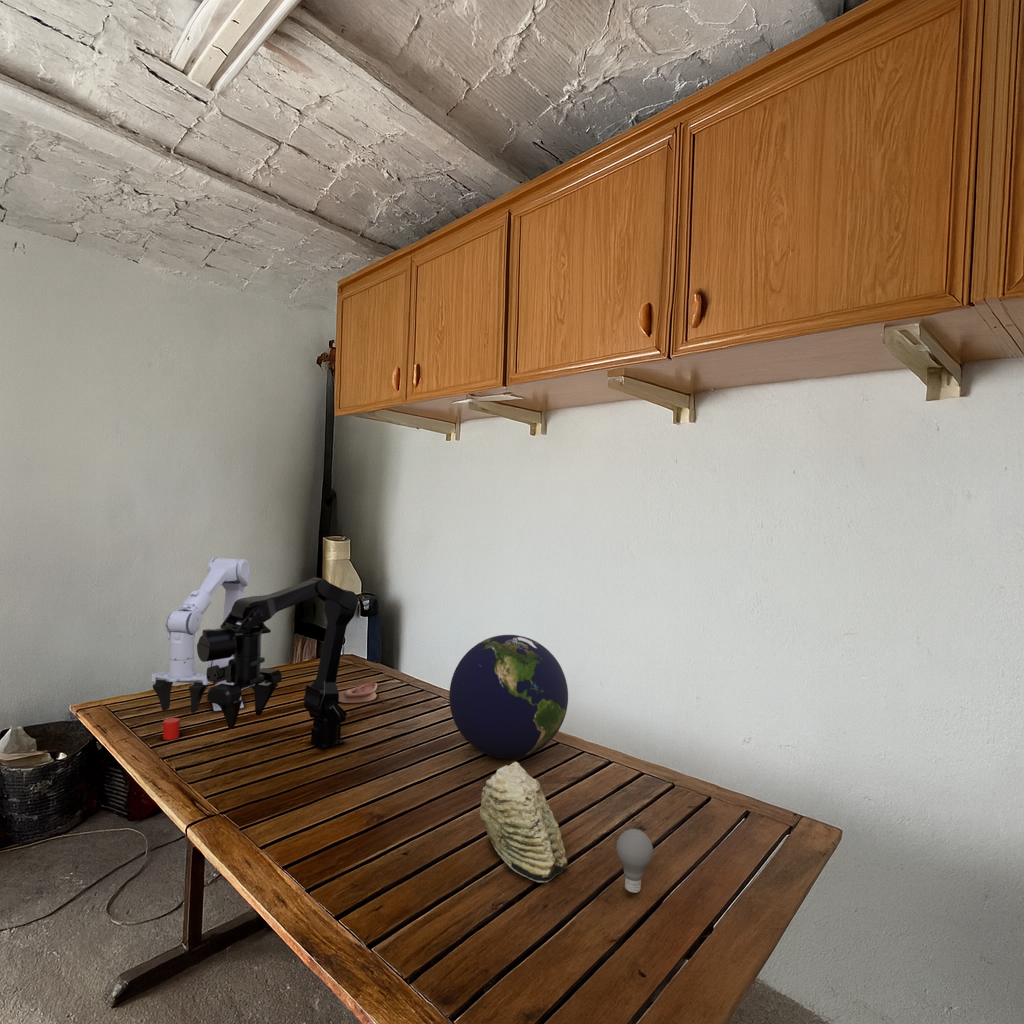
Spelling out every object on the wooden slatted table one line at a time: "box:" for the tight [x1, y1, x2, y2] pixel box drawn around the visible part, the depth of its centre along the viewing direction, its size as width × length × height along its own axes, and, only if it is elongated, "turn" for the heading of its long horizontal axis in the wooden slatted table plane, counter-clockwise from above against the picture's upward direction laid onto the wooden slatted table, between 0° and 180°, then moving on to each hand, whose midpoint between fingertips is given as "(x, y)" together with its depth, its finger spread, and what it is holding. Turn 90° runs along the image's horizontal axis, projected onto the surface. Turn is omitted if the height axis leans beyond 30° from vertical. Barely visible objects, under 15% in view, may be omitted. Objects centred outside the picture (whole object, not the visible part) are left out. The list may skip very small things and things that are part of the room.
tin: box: [162, 717, 181, 741], centre depth 162 cm, size 4×4×4 cm
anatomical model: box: [339, 682, 378, 704], centre depth 199 cm, size 13×4×12 cm
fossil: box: [479, 761, 569, 883], centre depth 114 cm, size 9×18×15 cm, turn 46°
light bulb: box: [615, 828, 654, 894], centre depth 106 cm, size 6×6×10 cm
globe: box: [448, 634, 569, 760], centre depth 160 cm, size 30×30×30 cm
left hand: (180, 710), depth 162 cm, fingers open, 7 cm apart
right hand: (245, 722), depth 145 cm, fingers open, 9 cm apart
